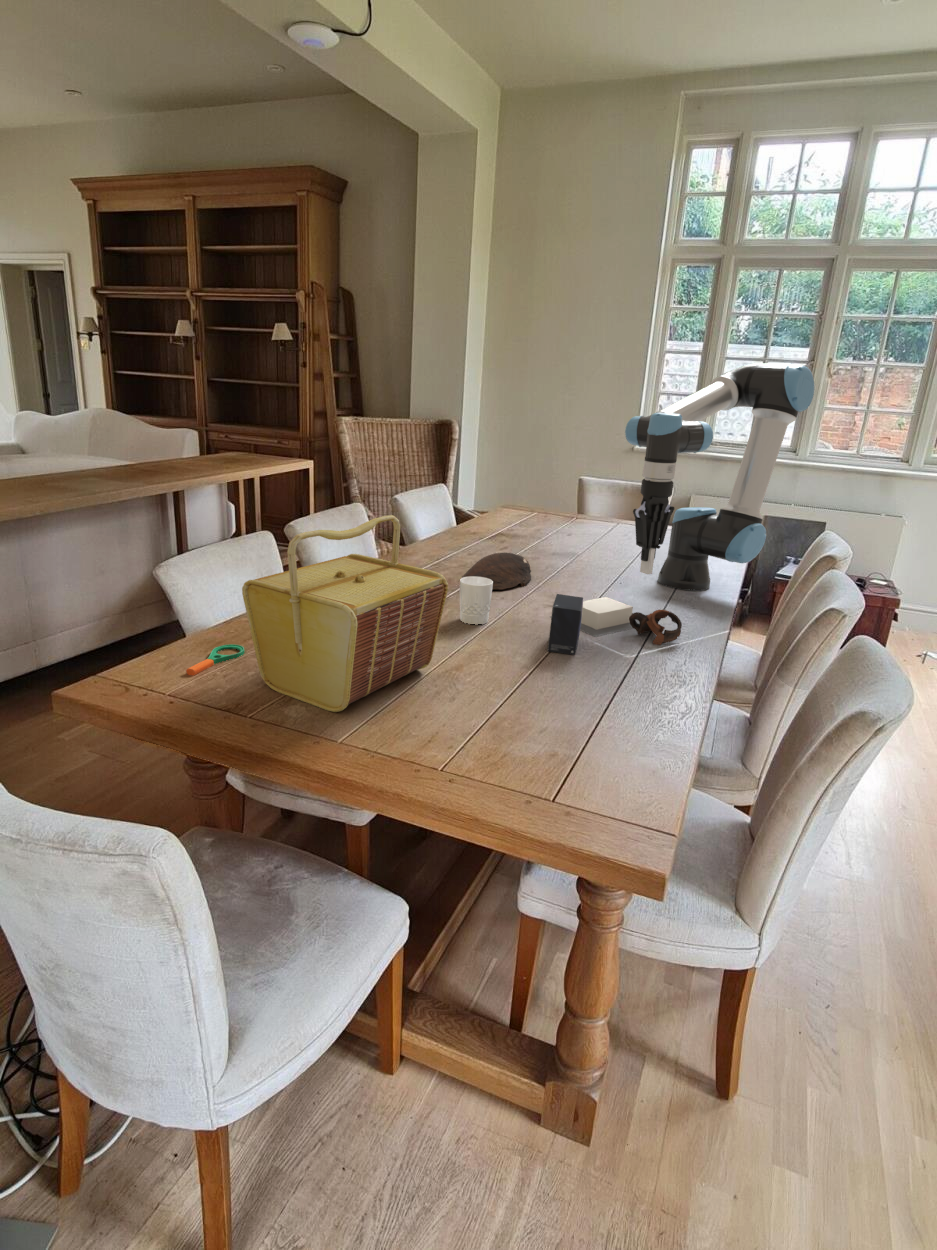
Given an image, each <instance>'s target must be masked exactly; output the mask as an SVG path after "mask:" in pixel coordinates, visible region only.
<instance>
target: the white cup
mask: <svg viewBox="0 0 937 1250" xmlns="http://www.w3.org/2000/svg"><path fill="white" fill-rule="evenodd" d="M460 578H461V577H460ZM459 580H460V585H459V610H460V611H459V620H460V621H462V622H461V623H463V622H464V624H466V623H468V624H467V625H470V624H475V625H474V626H479V625H478V624H482V625H484V624H487V623H488V621H489V618H490V617H489V615H490V611H491V609H490V608H491V603H492V596H493V595H492V594H493V589H492V587H493V581H492V580H491V579H488V578H484V577H476V576H470V577H464V578H461V579H459Z"/></svg>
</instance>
